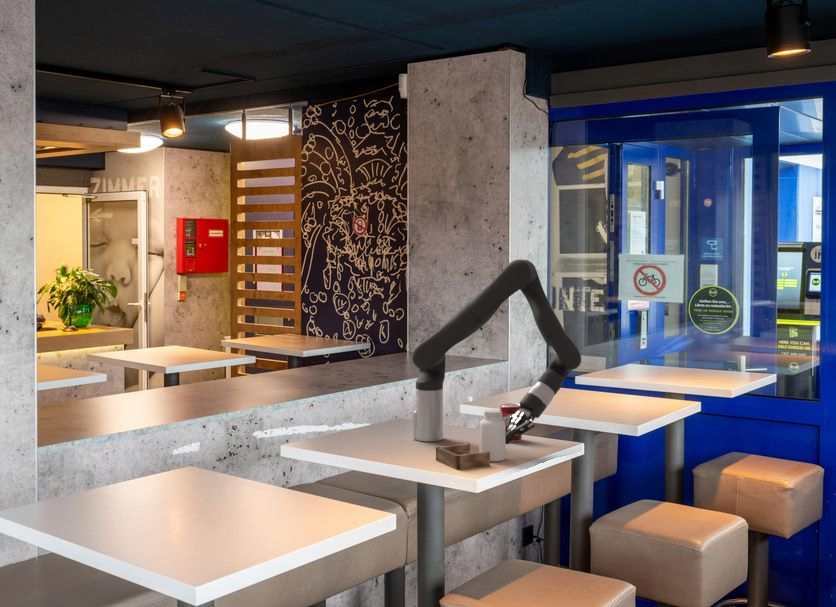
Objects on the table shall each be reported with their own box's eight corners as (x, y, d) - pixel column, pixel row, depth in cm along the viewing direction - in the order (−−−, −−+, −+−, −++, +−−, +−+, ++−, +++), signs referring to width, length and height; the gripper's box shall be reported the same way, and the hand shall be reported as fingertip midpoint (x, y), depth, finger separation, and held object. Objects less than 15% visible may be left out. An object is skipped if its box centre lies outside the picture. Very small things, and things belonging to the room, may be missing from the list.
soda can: (521, 438, 310) (521, 403, 309) (521, 442, 303) (522, 407, 302) (500, 438, 311) (500, 403, 310) (499, 442, 303) (500, 406, 303)
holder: (467, 456, 283) (467, 443, 283) (489, 465, 271) (489, 452, 271) (435, 460, 278) (435, 447, 278) (456, 469, 266) (456, 456, 266)
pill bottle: (508, 457, 282) (508, 409, 281) (501, 463, 274) (501, 413, 273) (483, 455, 284) (483, 407, 283) (476, 461, 277) (476, 412, 276)
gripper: (518, 388, 290) (485, 430, 285) (542, 394, 278) (508, 438, 274) (532, 404, 293) (500, 445, 288) (556, 410, 281) (523, 454, 276)
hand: (504, 442), depth 281 cm, fingers closed
